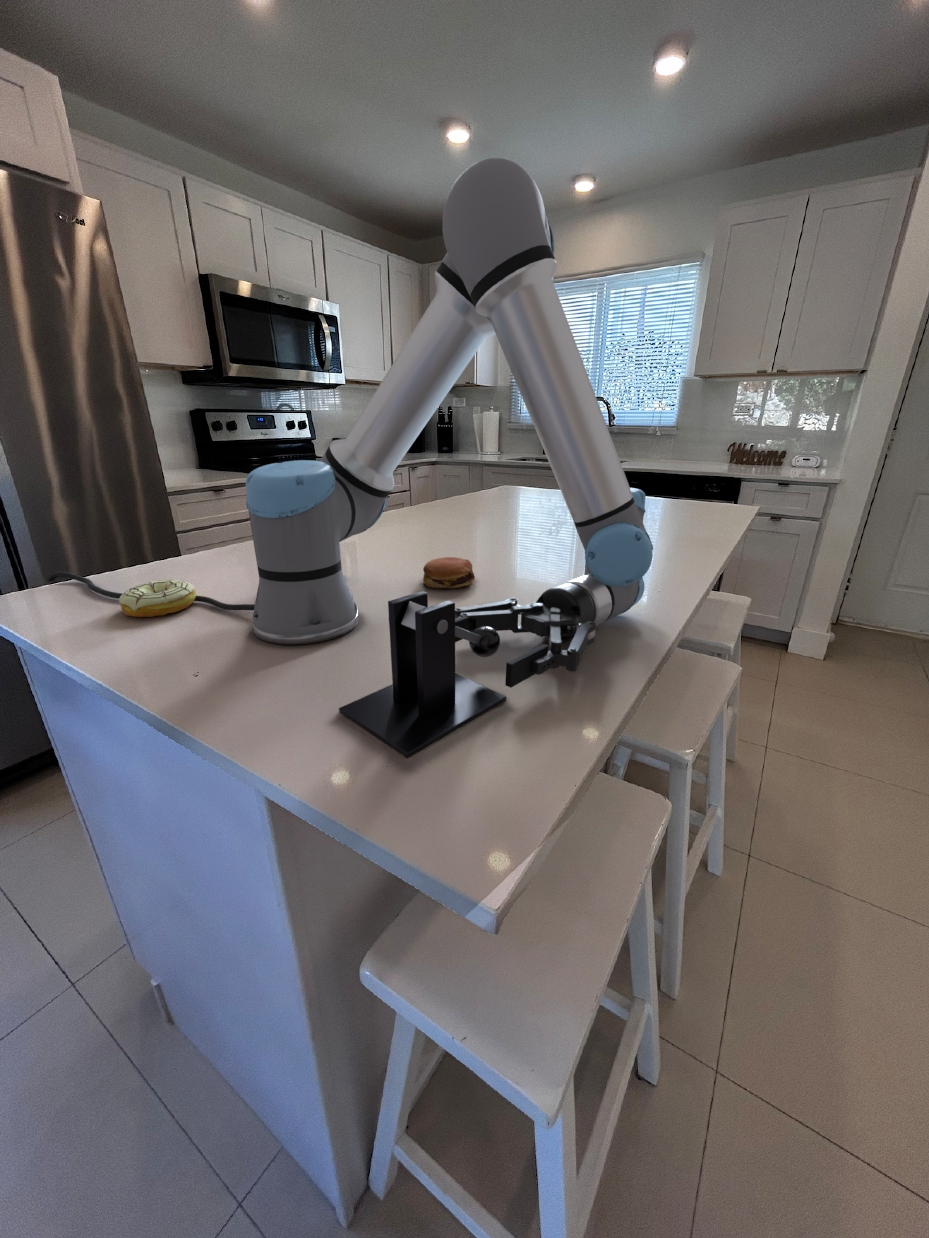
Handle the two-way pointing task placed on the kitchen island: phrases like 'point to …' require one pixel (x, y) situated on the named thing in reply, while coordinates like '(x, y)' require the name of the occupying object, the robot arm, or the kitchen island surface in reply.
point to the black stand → (421, 683)
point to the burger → (448, 573)
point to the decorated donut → (157, 598)
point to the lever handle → (463, 634)
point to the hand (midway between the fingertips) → (465, 657)
